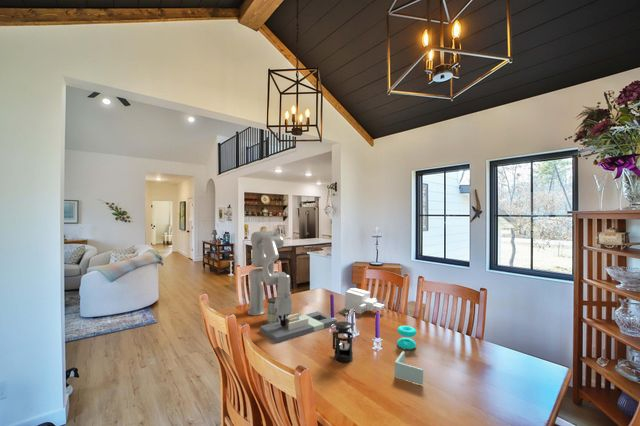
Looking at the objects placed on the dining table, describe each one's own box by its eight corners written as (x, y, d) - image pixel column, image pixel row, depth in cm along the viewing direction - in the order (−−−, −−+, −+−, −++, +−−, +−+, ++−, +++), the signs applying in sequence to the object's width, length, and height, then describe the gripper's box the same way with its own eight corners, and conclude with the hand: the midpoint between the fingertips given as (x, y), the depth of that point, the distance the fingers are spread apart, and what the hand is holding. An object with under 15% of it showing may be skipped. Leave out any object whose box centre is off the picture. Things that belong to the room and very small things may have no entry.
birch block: (284, 325, 175) (284, 317, 175) (292, 323, 179) (292, 315, 179) (289, 328, 171) (289, 320, 171) (297, 326, 174) (297, 317, 174)
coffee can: (269, 317, 197) (269, 296, 197) (284, 318, 196) (284, 297, 196) (265, 322, 186) (265, 301, 186) (280, 323, 185) (280, 302, 185)
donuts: (396, 324, 162) (415, 325, 160) (396, 341, 162) (414, 343, 160) (398, 331, 153) (417, 332, 151) (397, 349, 153) (417, 351, 151)
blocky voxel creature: (374, 323, 194) (339, 311, 210) (388, 313, 215) (355, 303, 231) (376, 301, 194) (341, 291, 210) (389, 293, 214) (356, 285, 230)
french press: (357, 358, 142) (358, 312, 142) (346, 366, 135) (347, 317, 135) (339, 350, 150) (339, 307, 150) (327, 357, 143) (328, 311, 143)
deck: (260, 331, 173) (260, 319, 173) (317, 315, 201) (317, 305, 201) (276, 343, 158) (276, 330, 158) (336, 324, 186) (336, 313, 186)
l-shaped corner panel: (422, 388, 120) (422, 370, 120) (394, 378, 126) (394, 361, 126) (428, 374, 130) (428, 358, 130) (402, 366, 136) (402, 351, 136)
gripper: (290, 292, 179) (290, 321, 179) (269, 295, 170) (268, 326, 170) (297, 294, 173) (296, 324, 173) (275, 298, 164) (275, 330, 164)
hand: (283, 325), depth 172 cm, fingers closed
